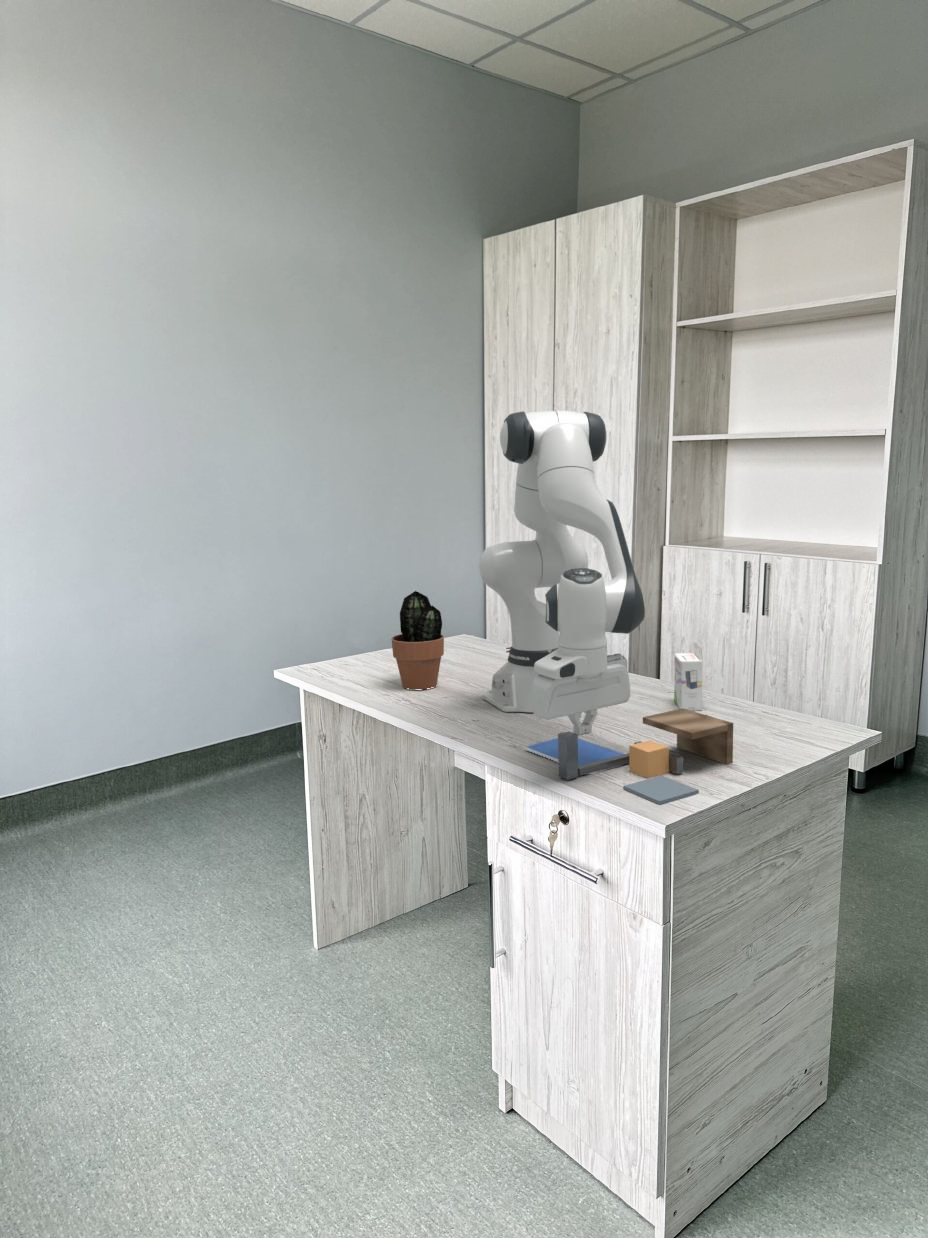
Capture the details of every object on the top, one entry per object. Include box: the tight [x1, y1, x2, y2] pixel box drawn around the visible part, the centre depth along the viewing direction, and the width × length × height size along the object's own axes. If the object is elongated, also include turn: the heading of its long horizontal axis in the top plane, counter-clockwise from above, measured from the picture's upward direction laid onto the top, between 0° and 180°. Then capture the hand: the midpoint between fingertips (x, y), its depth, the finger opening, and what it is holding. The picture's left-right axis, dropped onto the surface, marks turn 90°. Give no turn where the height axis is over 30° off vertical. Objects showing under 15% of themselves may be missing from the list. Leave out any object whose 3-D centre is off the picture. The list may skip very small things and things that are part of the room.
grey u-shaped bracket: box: [557, 730, 684, 781], centre depth 163 cm, size 12×19×8 cm, turn 121°
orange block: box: [628, 739, 670, 779], centre depth 165 cm, size 5×5×5 cm
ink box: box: [673, 640, 703, 712], centre depth 207 cm, size 9×5×15 cm, turn 178°
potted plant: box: [391, 590, 445, 689], centre depth 233 cm, size 14×14×25 cm
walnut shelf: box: [642, 708, 734, 765], centre depth 171 cm, size 13×10×8 cm
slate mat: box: [622, 775, 700, 806], centre depth 155 cm, size 9×9×1 cm
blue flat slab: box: [524, 737, 629, 775], centre depth 176 cm, size 19×13×1 cm, turn 36°
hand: (582, 733), depth 164 cm, fingers closed
